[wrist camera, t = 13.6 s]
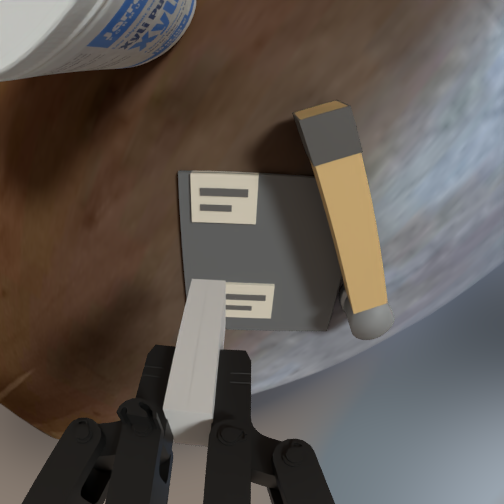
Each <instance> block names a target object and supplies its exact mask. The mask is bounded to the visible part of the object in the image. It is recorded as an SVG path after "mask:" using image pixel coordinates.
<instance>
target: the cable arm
mask: <svg viewBox="0 0 504 504" xmlns="http://www.w3.org/2000/svg"><path fill="white" fill-rule="evenodd" d="M292 114H293V116H294V119H295V122H296V125H297V128H298V131H299V134H300V137H301V140H302V143H303V146H304V149H305V152H306V154H307V156H308V157H309V159H310V163H311V166H312V169H313V172H314V175H315V179H316V182H317V185H318V189H319V192H320V195H321V199H322V202H323V206H324V209H325V213H326V216H327V220H328V223H329V227H330V231H331V234H332V238H333V242H334V246H335V249H336V253H337V257H338V261H339V265H340V269H341V273H342V277H343V281H344V285H345V290H346V293H347V297H346V299H345V302H344V309H345V312H346V315H347V318H348V322H349V325H350V328H351V331H352V334H353V335H354V336H355V337H356V338H358V339H361V340H371V339H375V338H378V337H380V336H382V335H383V334H385V333H386V332H387V331H388V330H389V329H390V328H391V327H392V325H393V323H394V314H393V312H392V310H391V307H390V305H389V303H388V301H387V294H386V286H385V278H384V271H383V264H382V257H381V250H380V244H379V238H378V232H377V226H376V221H375V215H374V210H373V205H372V200H371V195H370V190H369V185H368V181H367V176H366V172H365V168H364V163H363V159H362V155H361V153H362V152H363V151H362V147H361V143H360V139H359V135H358V131H357V128H356V124H355V120H354V117H353V113H352V110H351V106H350V105H347V104H345V103H343V102H340V101H338V100H335V101H331V102H328V103H324V104H321V105H317V106H314V107H310V108H307V109H304V110H300V111H297V112H294V113H292Z"/></svg>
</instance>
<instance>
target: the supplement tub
mask: <svg viewBox="0 0 504 504" xmlns="http://www.w3.org/2000/svg"><path fill="white" fill-rule="evenodd" d="M195 7H196V0H0V81H9V80H17V79H23V78H30V77H36V76H43V75H51V74H59V73H67V72H78V71H89V70H103V69H122V68H130V67H135V66H139V65H142V64H145V63H147V62H149V61H151V60H154V59H155V58H157V57H159V56H161V55H162V54H164V53H165V52H166V51H168V50H169V49H170V48H171V47H172V46H173V45H174V44H176V43H177V41H178V40H179V39H180V38H181V37H182V35H183V34H184V33H185V31H186V29H187V28H188V26H189V24H190V22H191V20H192V17H193V14H194V11H195Z"/></svg>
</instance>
